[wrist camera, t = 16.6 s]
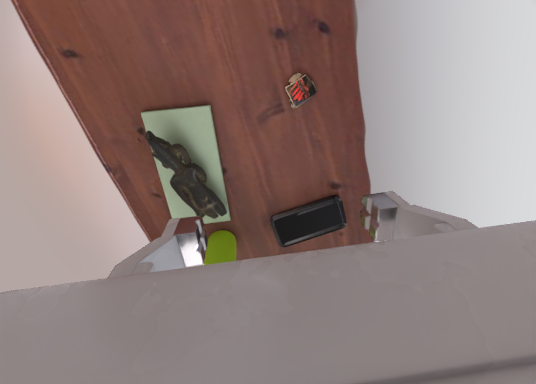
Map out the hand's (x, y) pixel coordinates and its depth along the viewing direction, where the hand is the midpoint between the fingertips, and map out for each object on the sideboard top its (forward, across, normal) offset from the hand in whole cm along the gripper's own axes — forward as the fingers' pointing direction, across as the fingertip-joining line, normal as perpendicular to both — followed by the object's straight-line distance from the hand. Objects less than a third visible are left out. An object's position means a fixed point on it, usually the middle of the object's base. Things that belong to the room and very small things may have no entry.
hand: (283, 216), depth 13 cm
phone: (+34, -9, +23) cm, 42 cm away
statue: (+33, +13, +9) cm, 37 cm away
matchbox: (+34, -8, -3) cm, 35 cm away
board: (+34, +12, +9) cm, 37 cm away
